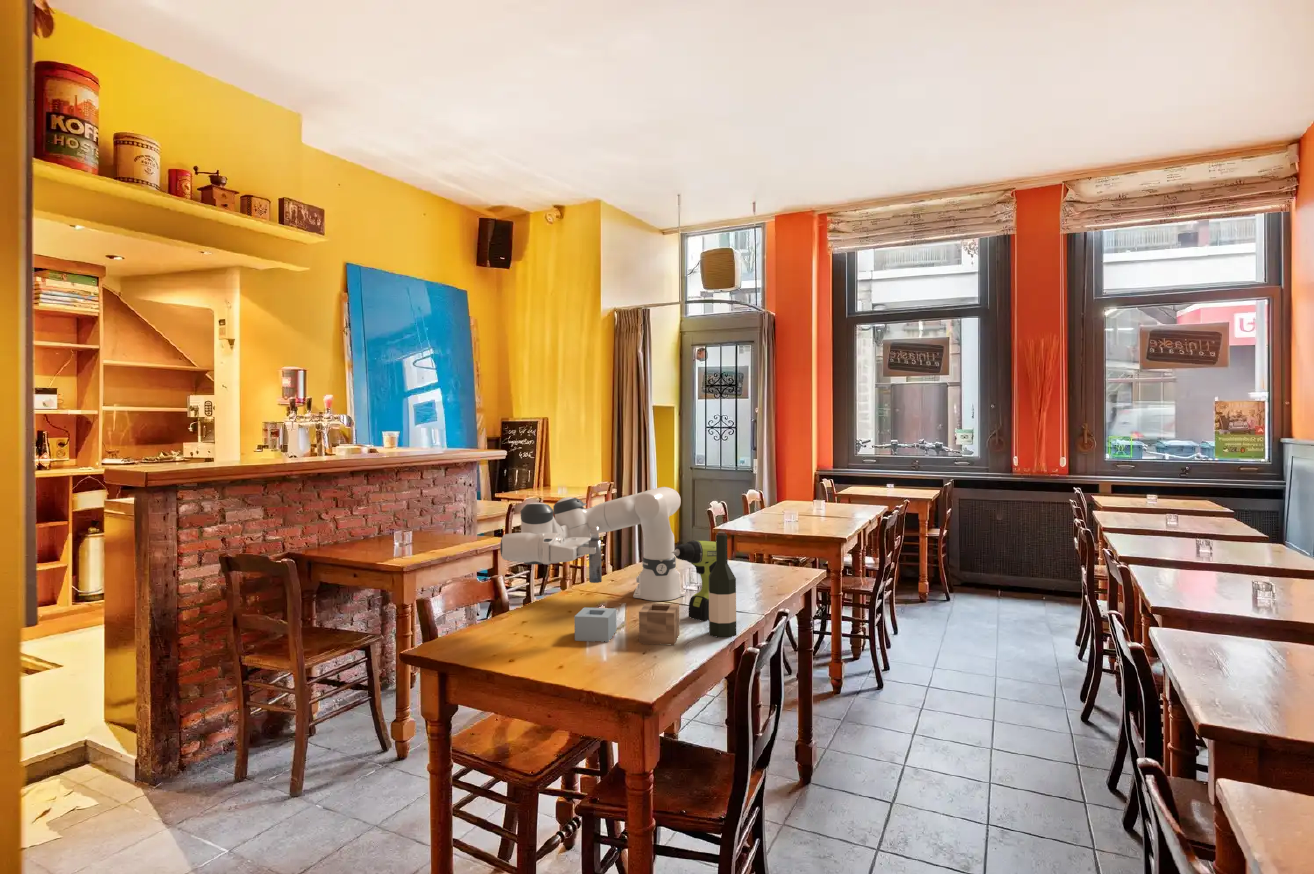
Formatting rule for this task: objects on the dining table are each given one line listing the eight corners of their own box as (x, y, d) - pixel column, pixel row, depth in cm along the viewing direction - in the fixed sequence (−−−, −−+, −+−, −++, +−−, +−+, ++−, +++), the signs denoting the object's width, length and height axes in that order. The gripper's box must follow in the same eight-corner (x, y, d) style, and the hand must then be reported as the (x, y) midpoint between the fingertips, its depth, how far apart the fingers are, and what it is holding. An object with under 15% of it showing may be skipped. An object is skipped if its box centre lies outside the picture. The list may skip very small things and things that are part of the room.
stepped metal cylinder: (589, 580, 208) (588, 526, 208) (601, 579, 209) (600, 525, 208) (589, 583, 205) (588, 528, 204) (602, 582, 205) (601, 527, 205)
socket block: (584, 630, 213) (584, 607, 213) (616, 631, 211) (616, 608, 211) (574, 640, 203) (574, 616, 203) (608, 642, 201) (608, 617, 201)
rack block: (646, 633, 209) (645, 603, 209) (679, 634, 208) (679, 604, 207) (639, 643, 199) (638, 611, 199) (674, 645, 198) (673, 613, 198)
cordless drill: (681, 628, 214) (680, 546, 213) (664, 624, 219) (663, 543, 218) (730, 613, 230) (729, 537, 230) (713, 609, 235) (712, 534, 235)
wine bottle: (703, 631, 210) (702, 531, 210) (728, 628, 214) (727, 529, 213) (716, 639, 203) (715, 535, 202) (742, 635, 206) (741, 533, 205)
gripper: (563, 552, 219) (606, 553, 217) (541, 565, 199) (589, 566, 196) (563, 531, 219) (606, 532, 216) (541, 543, 199) (588, 544, 196)
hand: (598, 549), depth 206 cm, fingers closed on stepped metal cylinder, 4 cm apart
